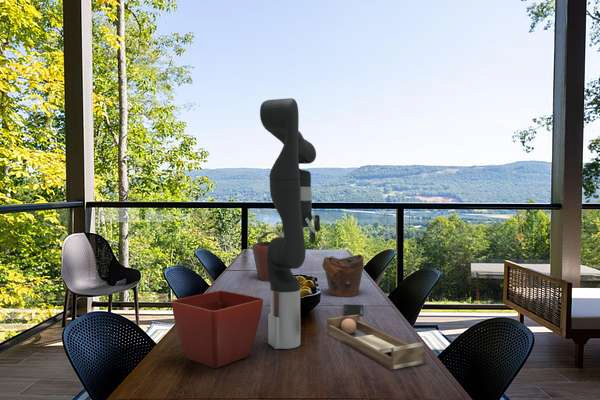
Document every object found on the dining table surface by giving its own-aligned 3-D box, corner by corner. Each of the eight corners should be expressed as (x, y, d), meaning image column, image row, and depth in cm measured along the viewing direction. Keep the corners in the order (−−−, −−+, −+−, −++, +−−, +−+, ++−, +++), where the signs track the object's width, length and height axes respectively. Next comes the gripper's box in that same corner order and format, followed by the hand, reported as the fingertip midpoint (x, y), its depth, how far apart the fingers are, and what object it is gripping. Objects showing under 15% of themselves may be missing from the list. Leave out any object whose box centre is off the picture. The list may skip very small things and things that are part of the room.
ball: (336, 324, 161) (342, 316, 158) (349, 322, 163) (355, 314, 160) (342, 337, 158) (347, 330, 155) (355, 335, 160) (360, 328, 157)
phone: (363, 304, 195) (363, 314, 181) (363, 307, 196) (363, 317, 181) (343, 304, 196) (342, 313, 182) (343, 307, 197) (342, 316, 182)
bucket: (248, 276, 262) (248, 230, 261) (285, 273, 271) (285, 229, 270) (264, 284, 240) (263, 234, 239) (303, 280, 249) (303, 232, 248)
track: (391, 370, 128) (391, 348, 128) (327, 333, 160) (327, 315, 160) (426, 363, 133) (426, 341, 133) (358, 329, 165) (358, 311, 165)
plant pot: (221, 342, 151) (220, 289, 151) (265, 356, 139) (265, 298, 138) (169, 359, 136) (169, 300, 136) (214, 376, 124) (213, 311, 124)
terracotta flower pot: (313, 293, 219) (314, 254, 218) (343, 287, 232) (344, 250, 232) (341, 301, 206) (342, 259, 205) (372, 294, 219) (372, 255, 218)
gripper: (314, 198, 181) (314, 241, 181) (279, 199, 175) (279, 243, 175) (323, 199, 174) (323, 243, 174) (287, 199, 168) (287, 246, 168)
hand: (301, 243), depth 175 cm, fingers open, 8 cm apart
